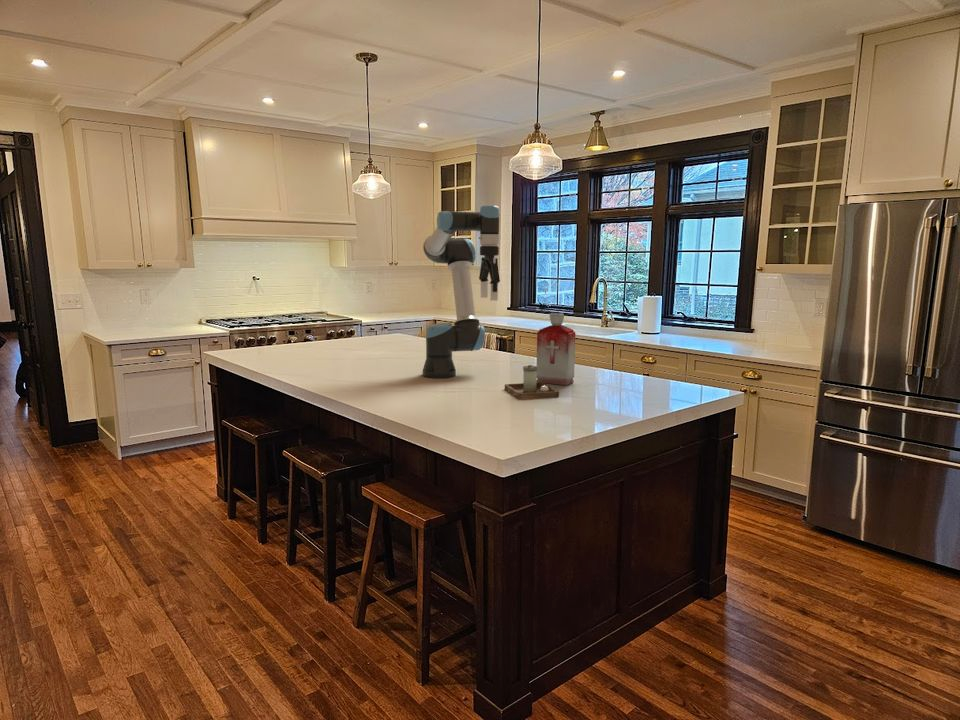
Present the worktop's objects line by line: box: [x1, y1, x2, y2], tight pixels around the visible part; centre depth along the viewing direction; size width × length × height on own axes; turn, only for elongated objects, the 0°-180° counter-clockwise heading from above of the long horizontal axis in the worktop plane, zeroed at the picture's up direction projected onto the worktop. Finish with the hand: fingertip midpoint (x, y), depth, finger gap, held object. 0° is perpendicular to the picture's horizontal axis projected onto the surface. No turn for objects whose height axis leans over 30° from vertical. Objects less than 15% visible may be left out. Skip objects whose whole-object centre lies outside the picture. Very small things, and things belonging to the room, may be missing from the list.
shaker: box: [522, 364, 537, 393], centre depth 247 cm, size 6×6×11 cm
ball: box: [540, 385, 549, 392], centre depth 244 cm, size 4×4×4 cm
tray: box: [504, 382, 560, 400], centre depth 247 cm, size 18×16×2 cm
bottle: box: [535, 312, 576, 387], centre depth 264 cm, size 14×10×30 cm
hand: (488, 299), depth 252 cm, fingers open, 13 cm apart
